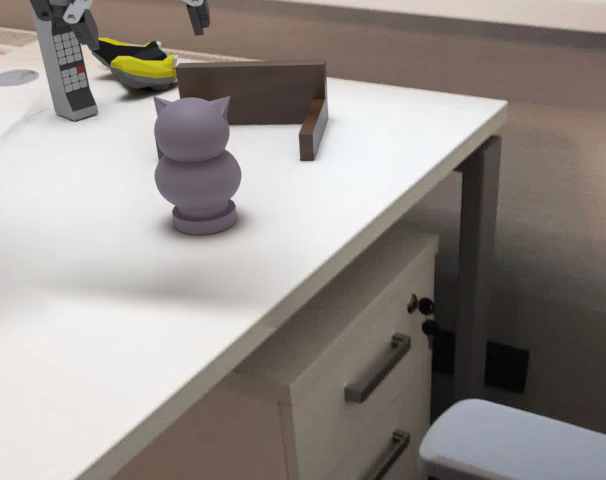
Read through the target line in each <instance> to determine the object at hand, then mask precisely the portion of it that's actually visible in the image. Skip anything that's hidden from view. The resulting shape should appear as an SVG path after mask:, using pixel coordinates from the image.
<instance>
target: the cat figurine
mask: <svg viewBox="0 0 606 480" xmlns="http://www.w3.org/2000/svg"><path fill="white" fill-rule="evenodd" d="M152 98H153V102H154V107H155V112H156V119H155V122H154V124H153V125H154V126H153V135H154V140H155V139H156V141H155V143H156V142H157V144H158V146H159V148H160V150H161V151H162V152H163V153H164V155H163V156H162V158H161V159H160V161H159V160H158V163H157V164H156V167H155V169H154V173H153V174H154V182H155V185H156V189H157V190H158V193H159V194H160V195H161V196H162V198H164V199H165V200H166V201H167V202H168V203H170V204H171V205H173V208H172V210H171V213H172V214H171V215H172V219H173V225H174V228H175V229H176V230H177V231H178V232H180V233H184V234H188V235H193V236H194V235H195V236H197V235H198V236H199V235H200V236H202V235H203V236H205V235H211V234H216V233H219V232H223V231H225V230H227V229H229V228H231V227H233V226H234V224H236V222H237V220H238V213H237V207H236V203H235V200H232V198H233V197H234V196H235V195H236V193H237V192H238V190H239V188H240V185H241V183H242V182H241V181H242V169H241V168H242V167H241V166H240V164H239V162H238V160H237V158H236V157H235V156H234V155H233V154H232V152H230V151H229V150H227V149H226V148H227V145H228V143H229V139H230V134H231V133H230V132H231V131H230V129H231V128H230V125H229V124H228V121H227V119H226V117H227V112H228V106H229V101H230V96H228V97H224V98H221V99H217V100H213V101H207V100H204V99H200V98H182V99H180V98H179V99H176V100H174V101H170V100H167V99H164V98H161V97H157V96H154V95H152Z"/></svg>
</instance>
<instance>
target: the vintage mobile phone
mask: <svg viewBox="0 0 606 480" xmlns="http://www.w3.org/2000/svg"><path fill="white" fill-rule="evenodd" d="M28 2H29V6H30V11H31V16H32V19H33V24H34V27H35V32H36V36H37V41H38V45H39V49H40V54H41V58H42V63H43V66H44V70H45V71H44V72H45V75H46V80H47V83H48V87H49V93H50V97H51V101H52V104H53V109H54V112H55V113H56V115H59V116H61V117H64V118H66V119H69V120H71V121H73V122H76V121H80V120H83V119H86V118H90V117H92V116H97V114H98V113H99V109H98V104H97V102H96V100H95V99H96V98H95V97H94V95H93V92H92V91H91V87H90V83H89V82H90V81H89V77H88V72H87V67H86V63H85V58H84V53H83V49H82V44H81V43H80V42H78V40H77V38H76V36H75V34H74V32H73V30H72V28H71V27H70V25H69V23H67V22H66V21H64V19H63V18H62V17H57V16H53V19H52V20H51V21H42V20H40V19H38V17H37V15H36V13H35V11H34V9H33V7H32V5H31V2H30V0H28Z"/></svg>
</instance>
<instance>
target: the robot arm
mask: <svg viewBox="0 0 606 480" xmlns="http://www.w3.org/2000/svg"><path fill="white" fill-rule="evenodd" d="M181 1H182V2H184V3H185V4H186V10H187V14H188V17H189V20H190V23H191V27H192V30H193V34H194V36H195V37H200V36H204V35H205V31H204V29H208V28H210V25H211V18H210V17H211V16H210V7H209V3H208V0H181ZM30 2H31V5H32V7H33V9H34V11H35V13H36V15H37V17H38V19H40V20H42V21H51V20H52V19H53V16H57V17H62V18H63V19H64V21H66V22H67V23H69V25H70V27H71V28H72V30H73V32H74V34H75V36H76V38H77V40H78V42H80V43H81V46H83V45H87V48H88V50H89V51H91V50H98V49H99V38H100V37H99V29H98V25H97V22H96V20H95V18H94V16H93V13H92V12H91V8H92V5H93V4H94V2H95V0H30Z"/></svg>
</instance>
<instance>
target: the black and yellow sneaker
mask: <svg viewBox="0 0 606 480" xmlns="http://www.w3.org/2000/svg"><path fill="white" fill-rule="evenodd" d="M98 38H99V49H98V50H90V52H91V55H92V56H93V57H95V58H96V60H97V61H99V62H100V63H101V64H102V65H103V66H105V67H106V68H107V69H109V70H110V72H111V74H112V75H113V76H114V77H116V79H118V80H119V81H120V82H121V83H123V84H125V85H126V86H129V87H131V88H133V89H137V90H139V89H145V88H149V87H150V88H151V89H152V90H154V91H164V90H167V89H169V87H170V84H174V83H176V81H177V75H176V67H177V63H178V59H179V54H174V53H172V54H168V55H167V54H166V52H164V51H163V50H162V42H161V41H157V40H151V41H150V42H147V43H145V45H144V46H142V45H141V46H140V45H138V46H137V45H131V44H128V43H124V42H121V41H119V40H115V39H112V38H109V37H98Z"/></svg>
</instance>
